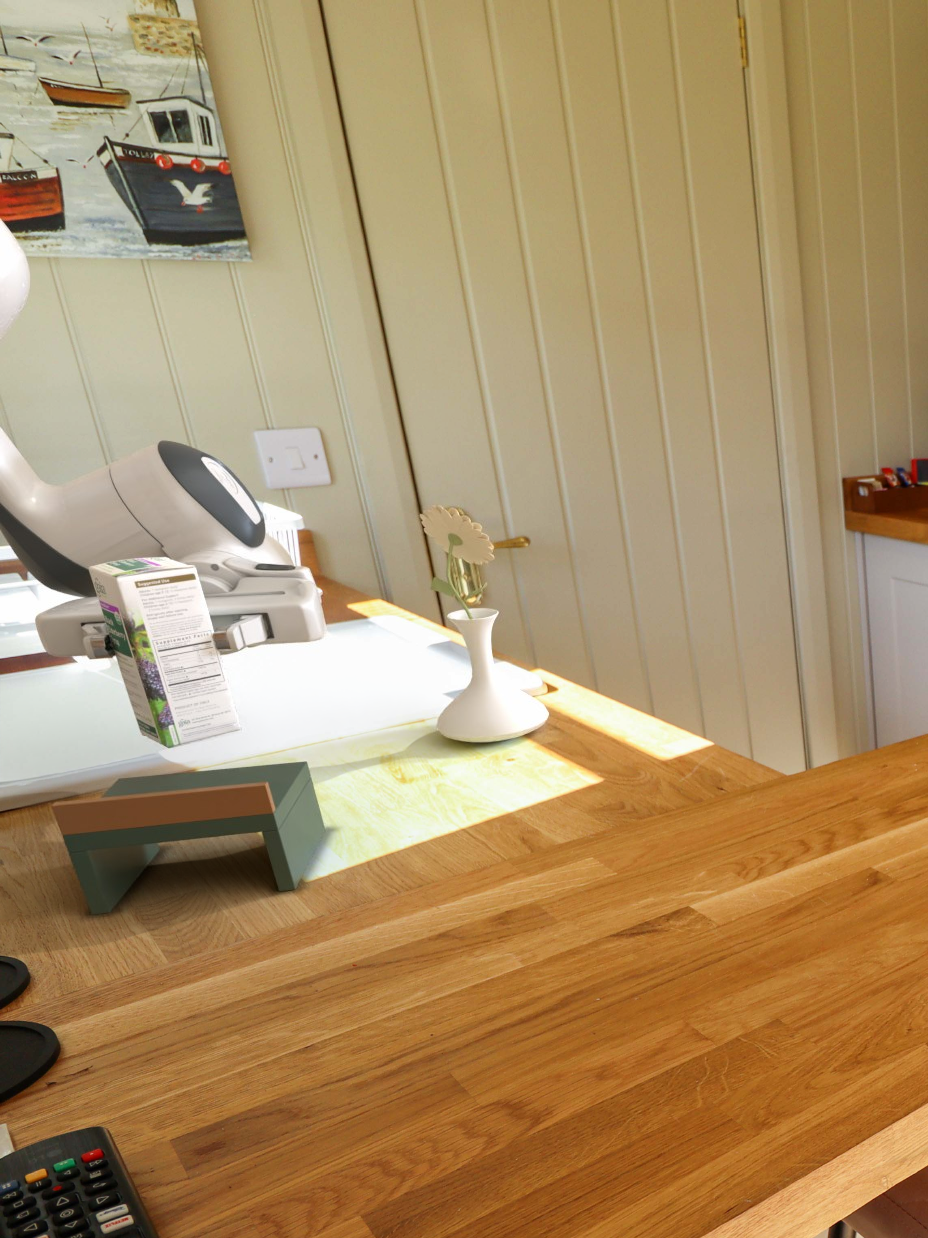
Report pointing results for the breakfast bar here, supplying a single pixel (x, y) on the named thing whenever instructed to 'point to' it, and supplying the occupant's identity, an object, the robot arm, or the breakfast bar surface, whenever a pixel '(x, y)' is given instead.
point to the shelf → (189, 823)
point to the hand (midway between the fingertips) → (162, 645)
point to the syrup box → (166, 649)
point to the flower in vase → (477, 646)
